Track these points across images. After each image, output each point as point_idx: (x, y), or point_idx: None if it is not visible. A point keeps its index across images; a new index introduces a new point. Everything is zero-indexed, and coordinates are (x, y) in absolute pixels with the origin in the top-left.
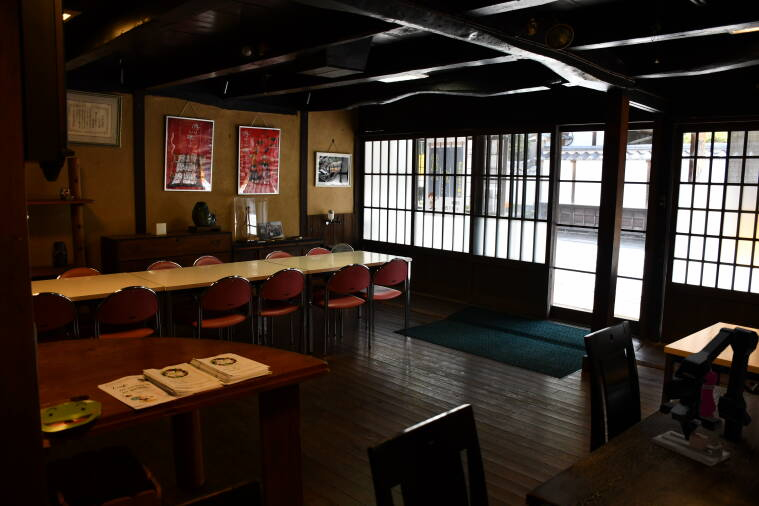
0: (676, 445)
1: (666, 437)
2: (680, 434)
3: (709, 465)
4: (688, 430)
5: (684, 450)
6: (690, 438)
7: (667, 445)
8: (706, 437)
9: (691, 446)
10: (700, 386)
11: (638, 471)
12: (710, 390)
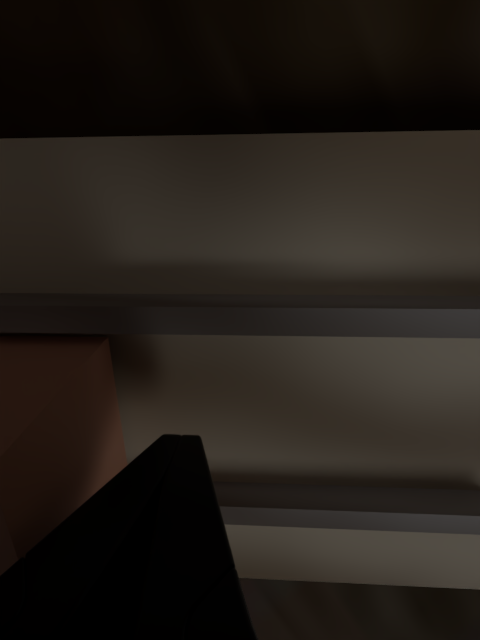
0: (244, 230)
1: (474, 308)
2: (388, 577)
3: None
4: (44, 607)
5: (67, 165)
6: (19, 418)
7: (354, 133)
8: None
9: (65, 345)
10: None
11: None
12: None
